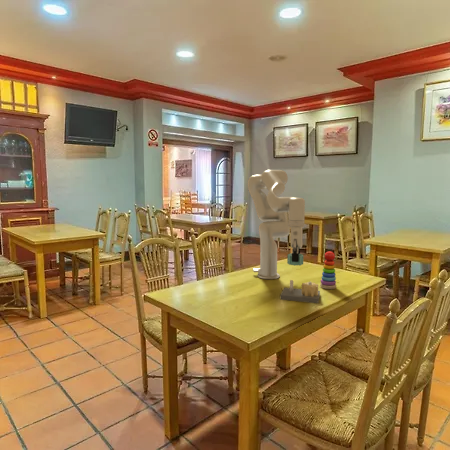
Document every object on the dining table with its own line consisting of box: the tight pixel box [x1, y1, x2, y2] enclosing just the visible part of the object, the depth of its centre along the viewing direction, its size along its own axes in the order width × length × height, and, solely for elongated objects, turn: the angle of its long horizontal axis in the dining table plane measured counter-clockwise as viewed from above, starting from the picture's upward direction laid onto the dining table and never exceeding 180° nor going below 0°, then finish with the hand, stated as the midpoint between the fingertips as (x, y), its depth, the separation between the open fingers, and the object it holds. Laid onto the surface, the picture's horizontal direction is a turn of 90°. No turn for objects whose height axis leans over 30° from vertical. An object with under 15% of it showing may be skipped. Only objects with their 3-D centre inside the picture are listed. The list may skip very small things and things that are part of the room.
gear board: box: [279, 279, 321, 304], centre depth 164 cm, size 17×12×8 cm
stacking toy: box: [319, 251, 337, 290], centre depth 178 cm, size 8×8×19 cm
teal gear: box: [286, 252, 304, 266], centre depth 169 cm, size 8×8×4 cm
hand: (295, 259), depth 169 cm, fingers closed on teal gear, 7 cm apart
